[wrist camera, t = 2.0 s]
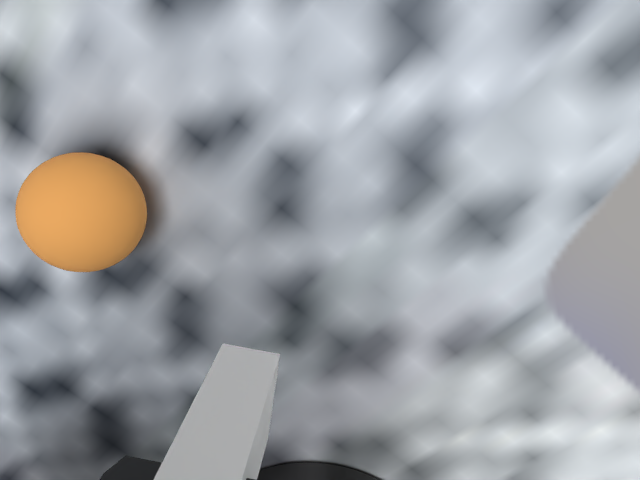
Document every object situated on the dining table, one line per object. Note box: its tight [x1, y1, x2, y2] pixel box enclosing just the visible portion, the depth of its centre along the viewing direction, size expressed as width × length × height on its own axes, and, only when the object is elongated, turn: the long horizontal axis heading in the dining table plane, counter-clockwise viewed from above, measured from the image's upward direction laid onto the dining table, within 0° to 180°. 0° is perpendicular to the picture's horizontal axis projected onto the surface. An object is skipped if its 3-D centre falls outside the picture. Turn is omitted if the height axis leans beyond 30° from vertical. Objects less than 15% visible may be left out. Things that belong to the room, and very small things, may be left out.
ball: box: [16, 153, 147, 272], centre depth 24 cm, size 6×6×6 cm
